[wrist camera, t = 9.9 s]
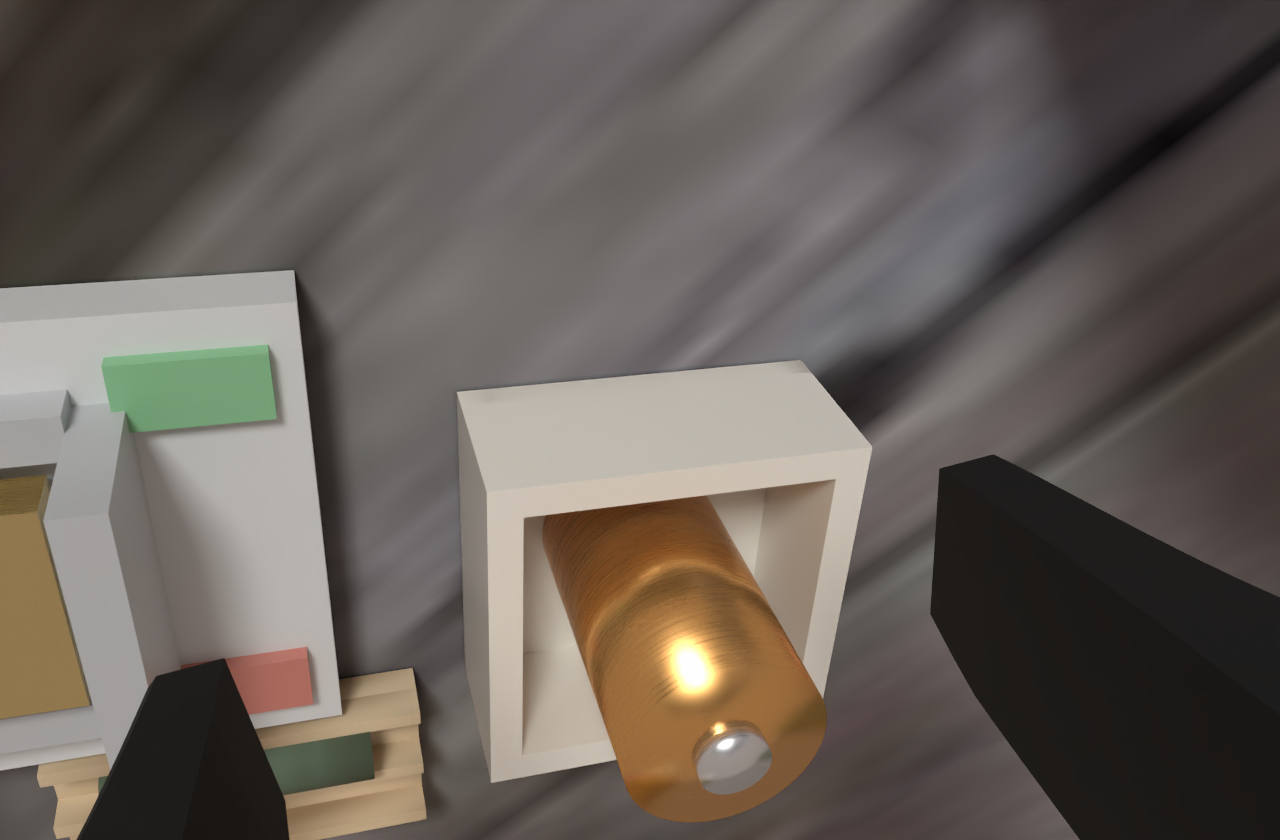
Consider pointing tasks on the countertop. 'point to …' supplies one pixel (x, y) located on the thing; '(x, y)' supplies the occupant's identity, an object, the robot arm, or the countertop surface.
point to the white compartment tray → (170, 494)
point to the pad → (33, 610)
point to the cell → (683, 658)
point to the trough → (309, 765)
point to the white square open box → (631, 474)
